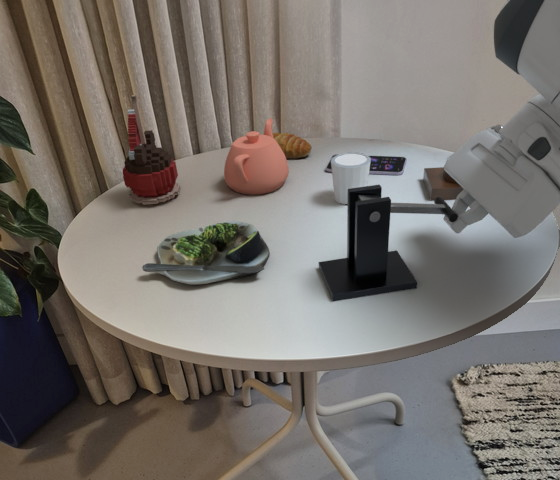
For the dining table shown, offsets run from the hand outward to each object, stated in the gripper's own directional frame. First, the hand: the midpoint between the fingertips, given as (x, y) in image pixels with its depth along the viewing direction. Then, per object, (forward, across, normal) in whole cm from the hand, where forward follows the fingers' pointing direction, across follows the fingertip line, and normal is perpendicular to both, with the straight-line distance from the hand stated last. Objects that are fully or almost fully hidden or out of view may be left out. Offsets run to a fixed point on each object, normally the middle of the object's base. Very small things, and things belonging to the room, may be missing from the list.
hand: (449, 226), depth 79 cm
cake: (+34, -39, -25) cm, 57 cm away
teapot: (+20, -39, -11) cm, 45 cm away
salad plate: (+28, -12, -18) cm, 35 cm away
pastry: (+14, -52, -5) cm, 54 cm away
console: (-5, -24, +14) cm, 28 cm away
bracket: (+13, 0, -4) cm, 13 cm away
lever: (+3, 0, -7) cm, 7 cm away
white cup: (+9, -27, 0) cm, 28 cm away
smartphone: (+5, -39, +4) cm, 40 cm away
